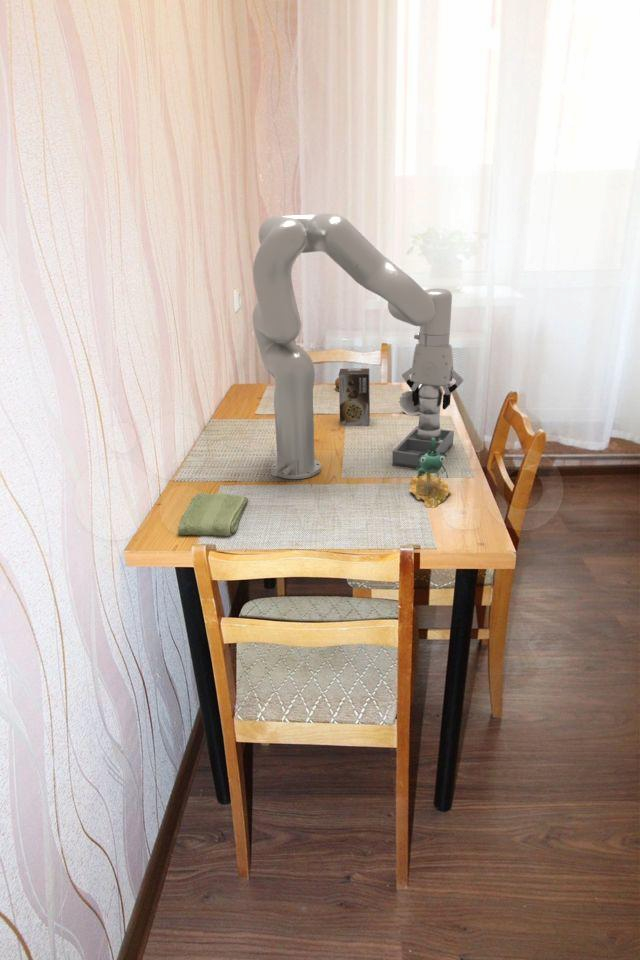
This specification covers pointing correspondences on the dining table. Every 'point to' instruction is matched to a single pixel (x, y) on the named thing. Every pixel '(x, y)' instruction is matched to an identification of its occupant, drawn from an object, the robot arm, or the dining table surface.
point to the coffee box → (354, 397)
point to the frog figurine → (430, 478)
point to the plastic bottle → (429, 412)
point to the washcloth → (212, 514)
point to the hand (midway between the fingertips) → (430, 405)
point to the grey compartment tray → (419, 449)
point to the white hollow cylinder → (408, 403)
